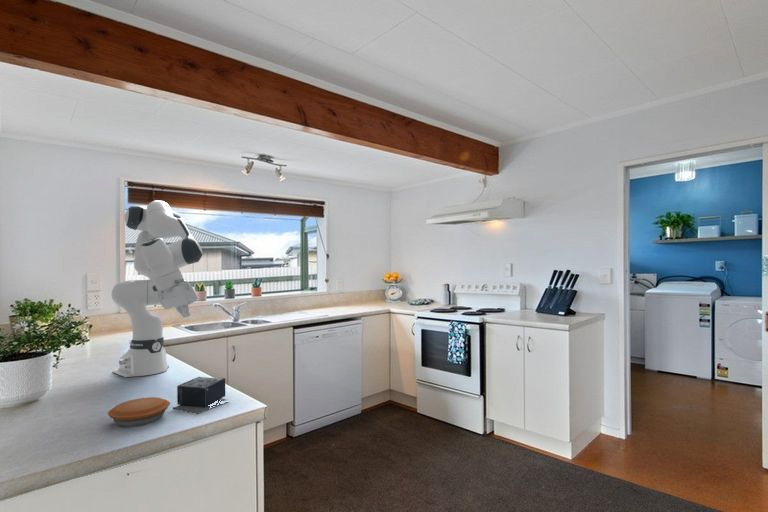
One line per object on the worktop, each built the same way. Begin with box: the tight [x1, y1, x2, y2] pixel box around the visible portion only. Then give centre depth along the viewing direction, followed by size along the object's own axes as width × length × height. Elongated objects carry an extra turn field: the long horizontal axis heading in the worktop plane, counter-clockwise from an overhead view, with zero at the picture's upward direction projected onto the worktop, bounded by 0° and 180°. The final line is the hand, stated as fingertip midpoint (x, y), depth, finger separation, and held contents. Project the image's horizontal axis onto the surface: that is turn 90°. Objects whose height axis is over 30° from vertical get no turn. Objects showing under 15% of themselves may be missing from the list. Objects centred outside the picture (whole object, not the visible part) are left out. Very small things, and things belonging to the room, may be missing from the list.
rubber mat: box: [172, 399, 223, 415], centre depth 130 cm, size 11×12×1 cm
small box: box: [176, 376, 226, 407], centre depth 133 cm, size 11×6×10 cm
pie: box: [107, 396, 171, 428], centre depth 118 cm, size 15×16×5 cm
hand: (186, 316), depth 148 cm, fingers closed
